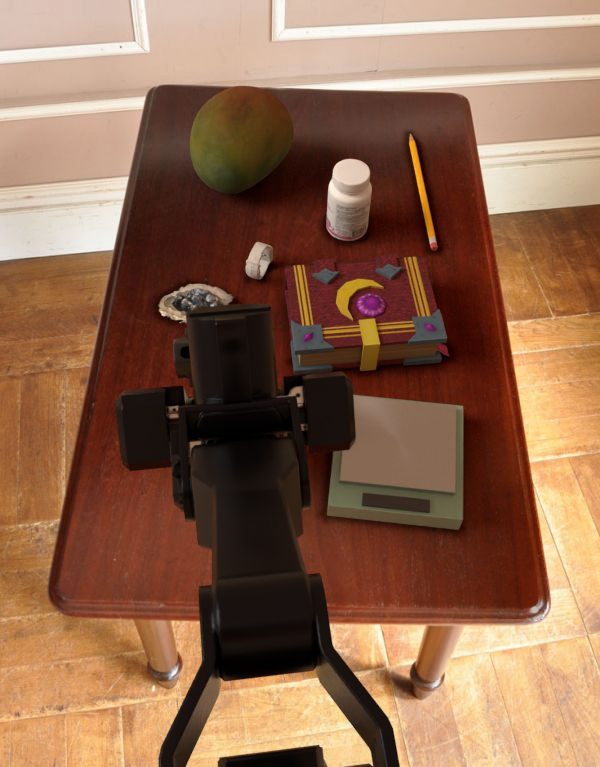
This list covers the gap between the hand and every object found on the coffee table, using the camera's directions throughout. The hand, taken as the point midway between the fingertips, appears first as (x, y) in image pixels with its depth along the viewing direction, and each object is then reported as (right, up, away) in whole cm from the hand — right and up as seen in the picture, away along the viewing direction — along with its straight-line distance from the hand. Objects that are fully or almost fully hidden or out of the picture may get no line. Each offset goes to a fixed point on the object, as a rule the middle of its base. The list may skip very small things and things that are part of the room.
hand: (234, 398), depth 77 cm
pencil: (+20, +24, +25) cm, 40 cm away
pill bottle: (+11, +19, +21) cm, 31 cm away
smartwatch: (+1, +13, +17) cm, 22 cm away
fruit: (-1, +26, +25) cm, 37 cm away
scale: (+15, -6, +4) cm, 17 cm away
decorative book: (+13, +7, +13) cm, 20 cm away
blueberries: (-5, +9, +14) cm, 17 cm away
